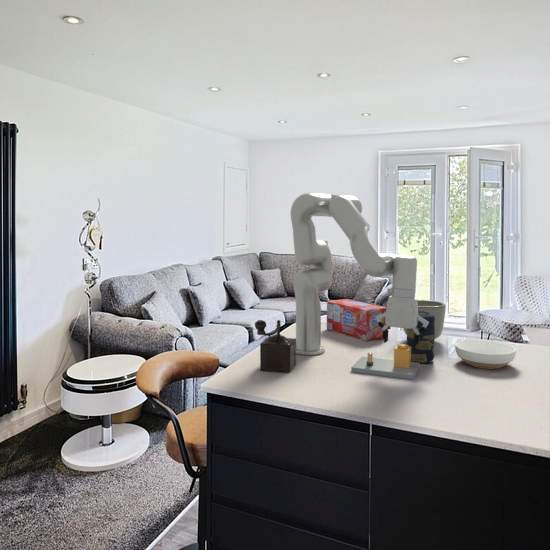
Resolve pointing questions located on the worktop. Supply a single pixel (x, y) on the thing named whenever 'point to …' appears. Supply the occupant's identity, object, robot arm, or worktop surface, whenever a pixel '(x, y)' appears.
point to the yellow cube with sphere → (402, 356)
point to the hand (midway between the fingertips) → (400, 343)
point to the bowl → (485, 353)
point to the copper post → (369, 360)
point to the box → (355, 319)
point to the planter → (436, 310)
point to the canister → (423, 340)
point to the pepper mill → (276, 350)
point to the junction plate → (385, 368)
